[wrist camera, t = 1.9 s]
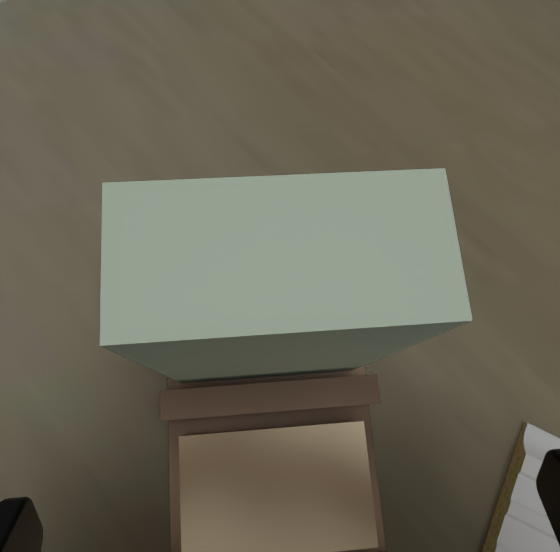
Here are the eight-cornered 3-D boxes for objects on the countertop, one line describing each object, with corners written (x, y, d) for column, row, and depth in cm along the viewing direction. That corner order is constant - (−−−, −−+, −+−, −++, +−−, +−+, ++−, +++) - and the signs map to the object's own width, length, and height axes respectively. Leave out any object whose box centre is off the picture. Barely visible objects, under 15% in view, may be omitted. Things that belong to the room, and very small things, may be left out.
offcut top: (372, 541, 17) (378, 547, 16) (184, 560, 17) (181, 567, 16) (358, 420, 18) (363, 421, 18) (181, 435, 18) (178, 436, 17)
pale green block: (350, 370, 20) (472, 320, 9) (182, 383, 19) (99, 345, 8) (342, 295, 20) (445, 168, 10) (180, 306, 20) (102, 182, 9)
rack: (384, 575, 18) (405, 600, 16) (175, 597, 18) (162, 627, 15) (348, 269, 21) (361, 251, 19) (168, 280, 21) (157, 262, 18)
